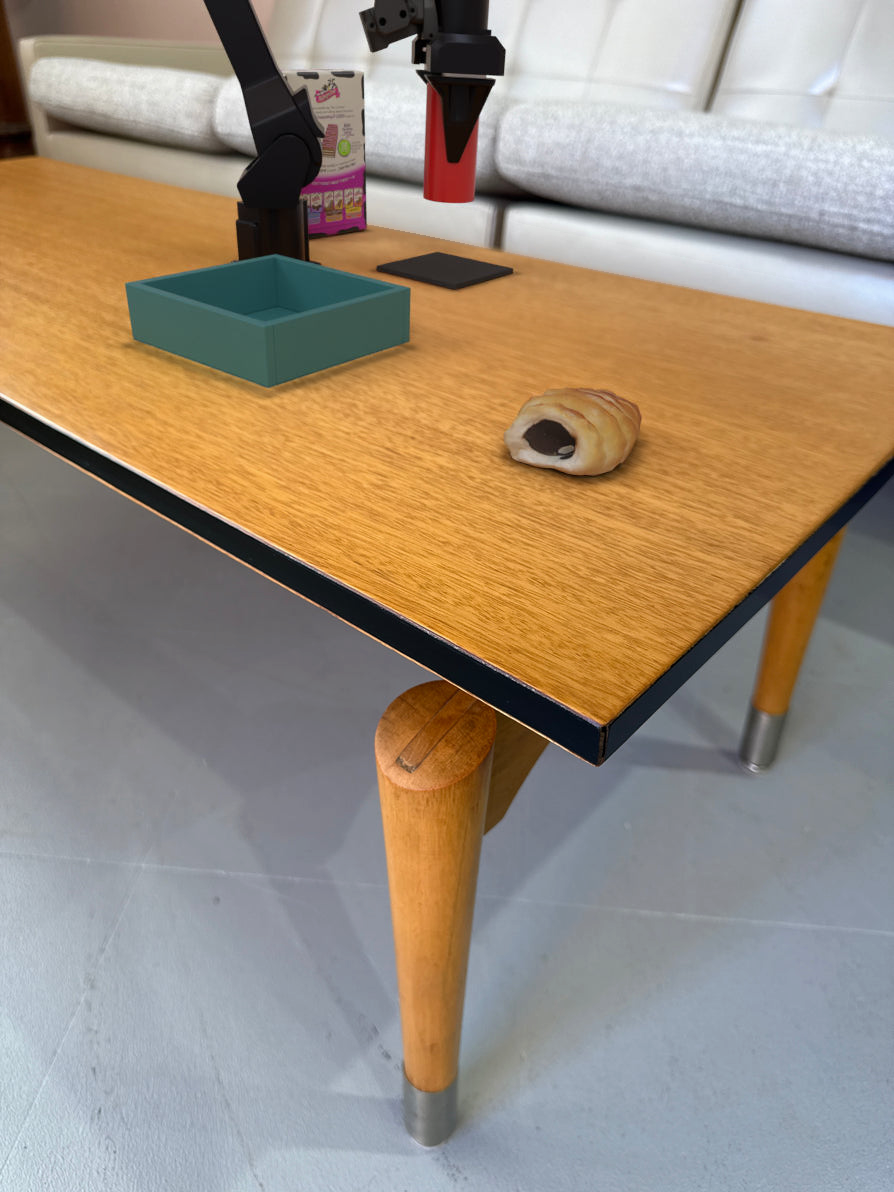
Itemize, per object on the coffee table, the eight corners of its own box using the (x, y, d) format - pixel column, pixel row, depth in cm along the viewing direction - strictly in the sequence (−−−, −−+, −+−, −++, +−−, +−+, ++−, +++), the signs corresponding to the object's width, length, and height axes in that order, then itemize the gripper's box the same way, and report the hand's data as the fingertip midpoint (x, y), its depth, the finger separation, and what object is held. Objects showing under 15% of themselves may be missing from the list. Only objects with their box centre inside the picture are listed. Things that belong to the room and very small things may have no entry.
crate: (278, 308, 75) (275, 253, 72) (409, 347, 67) (411, 287, 65) (133, 345, 65) (124, 282, 62) (268, 394, 57) (264, 326, 55)
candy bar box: (340, 223, 107) (337, 68, 98) (368, 230, 104) (367, 71, 95) (267, 234, 100) (256, 67, 91) (294, 241, 97) (286, 70, 88)
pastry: (569, 412, 57) (577, 355, 55) (664, 440, 54) (677, 381, 52) (493, 457, 51) (499, 394, 49) (597, 492, 48) (608, 426, 46)
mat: (437, 256, 94) (437, 251, 94) (513, 273, 90) (513, 268, 89) (376, 270, 88) (376, 265, 87) (454, 289, 83) (454, 284, 82)
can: (420, 193, 86) (424, 77, 81) (470, 195, 87) (477, 79, 82) (425, 202, 82) (429, 80, 77) (477, 204, 83) (485, 83, 77)
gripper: (360, -44, 81) (360, 143, 89) (369, -59, 65) (369, 169, 74) (477, -36, 82) (467, 148, 91) (514, -49, 67) (497, 174, 75)
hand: (449, 158), depth 83 cm, fingers closed on can, 5 cm apart
